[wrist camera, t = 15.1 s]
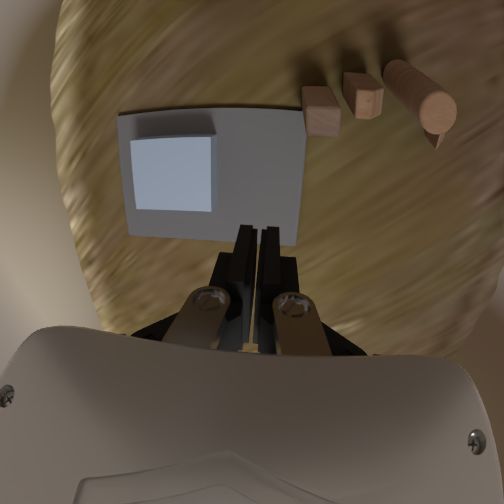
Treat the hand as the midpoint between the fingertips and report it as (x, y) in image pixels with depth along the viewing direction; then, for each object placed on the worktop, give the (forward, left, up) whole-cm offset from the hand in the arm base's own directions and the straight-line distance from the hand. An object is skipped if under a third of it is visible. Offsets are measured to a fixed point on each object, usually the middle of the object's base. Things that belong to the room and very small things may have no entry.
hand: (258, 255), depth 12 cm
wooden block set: (-9, +12, -20) cm, 25 cm away
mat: (+2, -7, -20) cm, 21 cm away
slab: (+1, -6, -18) cm, 19 cm away
